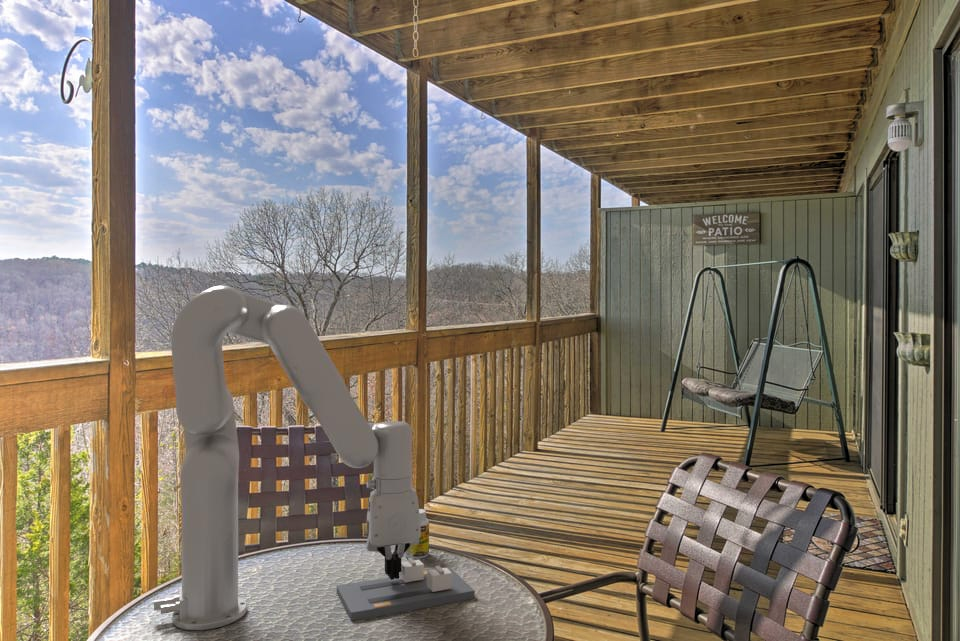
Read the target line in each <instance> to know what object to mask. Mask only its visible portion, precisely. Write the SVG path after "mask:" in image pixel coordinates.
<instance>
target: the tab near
mask: <svg viewBox="0 0 960 641" xmlns="http://www.w3.org/2000/svg"><path fill="white" fill-rule="evenodd" d="M447 568H448V567H441V566H440V565H435V566H434V569H429V570H427V586H428V587H429V589H430V590H431V591H432V592H435V591H440V590H446V589H452V573H451V572H450V571H449V570H448V569H447Z"/></svg>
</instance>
